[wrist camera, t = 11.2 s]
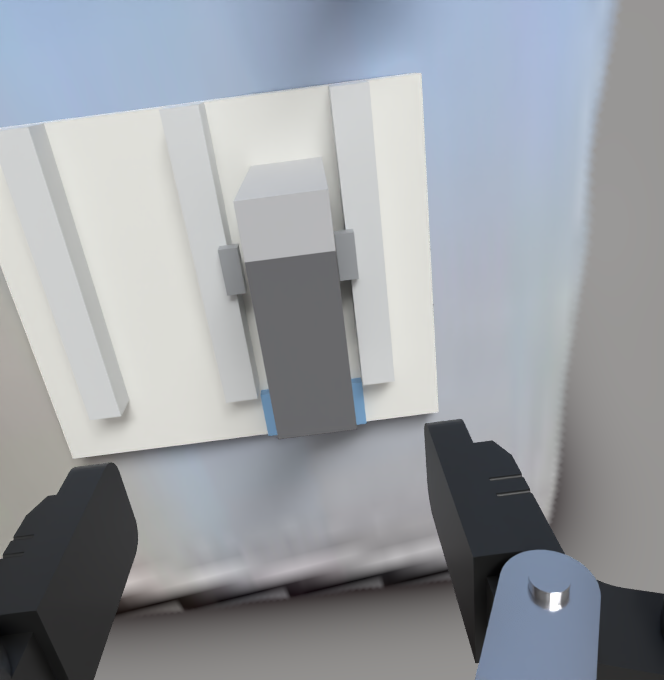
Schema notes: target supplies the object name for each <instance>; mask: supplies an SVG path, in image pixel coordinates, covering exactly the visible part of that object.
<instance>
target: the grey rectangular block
mask: <svg viewBox="0 0 664 680" xmlns="http://www.w3.org/2000/svg"><path fill="white" fill-rule="evenodd" d="M233 203H234V209H235V214H236V219H237V224H238V230H239V235H240V240H241V246H242V251H243V256H244V261H245V267H246V272H247V277H248V282H249V288H250V293H251V298H252V304H253V309H254V314H255V319H256V325H257V330H258V335H259V340H260V346H261V351H262V356H263V362H264V367H265V372H266V377H267V383H268V388H269V393H270V398H271V404H272V409H273V414H274V419H275V425H276V430H277V435H278V439H284V438H292V437H300V436H308V435H316V434H323V433H331V432H339V431H347V430H355V429H357V424H356V415H355V407H354V399H353V390H352V382H351V374H350V365H349V357H348V349H347V340H346V332H345V324H344V315H343V307H342V299H341V290H340V282H339V274H338V265H337V257H336V249H335V240H334V232H333V224H332V216H331V207H330V199H329V191H328V185H327V180H326V176H325V171H324V166H323V161H322V157H315V158H308V159H300V160H292V161H284V162H277V163H269V164H261V165H254V166H250V168H249V170H248V172H247V174H246V176H245V178H244V180H243V182H242V184H241V186H240V188H239V191H238V193H237V195H236V197H235V199H234V201H233Z"/></svg>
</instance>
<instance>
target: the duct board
mask: <svg viewBox="0 0 664 680" xmlns="http://www.w3.org/2000/svg"><path fill="white" fill-rule="evenodd" d="M315 157H322V161H323V166H324V171H325V176H326V180H327V185H328V191H329V199H330V207H331V216H332V224H333V232H334V240H335V249H336V257H337V265H338V274H339V282H340V290H341V299H342V307H343V315H344V324H345V332H346V340H347V349H348V357H349V365H350V374H351V382H352V390H353V399H354V407H355V415H356V424H357V425H359V424H367V422H366V421H373V420H381V419H389V418H397V417H405V416H413V415H420V414H428V413H436V412H438V393H437V373H436V354H435V334H434V314H433V294H432V275H431V255H430V235H429V215H428V196H427V176H426V156H425V136H424V116H423V97H422V77H421V73H408V74H401V75H393V76H385V77H378V78H370V79H363V80H355V81H348V82H340V83H333V84H325V85H318V86H310V87H302V88H295V89H287V90H280V91H272V92H265V93H257V94H250V95H242V96H235V97H227V98H219V99H212V100H204V101H197V102H189V103H182V104H174V105H167V106H159V107H152V108H144V109H136V110H129V111H121V112H114V113H106V114H99V115H91V116H84V117H76V118H69V119H61V120H53V121H46V122H38V123H31V124H23V125H16V126H8V127H1V128H0V266H1V268H2V271H3V274H4V276H5V279H6V282H7V284H8V287H9V290H10V292H11V295H12V298H13V300H14V303H15V306H16V308H17V311H18V314H19V316H20V319H21V322H22V324H23V327H24V330H25V332H26V335H27V338H28V340H29V343H30V346H31V348H32V351H33V354H34V356H35V359H36V362H37V364H38V367H39V369H40V372H41V375H42V377H43V380H44V383H45V385H46V388H47V391H48V393H49V396H50V399H51V401H52V404H53V407H54V409H55V412H56V415H57V417H58V420H59V423H60V425H61V428H62V431H63V433H64V436H65V439H66V441H67V444H68V447H69V449H70V452H71V455H72V457H73V459H75V458H83V457H90V456H98V455H106V454H114V453H122V452H130V451H138V450H145V449H153V448H161V447H169V446H177V445H185V444H193V443H200V442H208V441H216V440H224V439H232V438H240V437H248V436H255V435H263V434H268V436H273V435H277V430H276V425H275V419H274V414H273V409H272V404H271V398H270V393H269V388H268V383H267V377H266V372H265V367H264V362H263V356H262V351H261V346H260V340H259V335H258V330H257V325H256V319H255V314H254V309H253V304H252V298H251V293H250V288H249V282H248V277H247V272H246V267H245V261H244V256H243V251H242V246H241V240H240V235H239V230H238V224H237V219H236V214H235V209H234V203H233V201H234V199H235V197H236V195H237V193H238V191H239V188H240V186H241V184H242V182H243V180H244V178H245V176H246V174H247V172H248V170H249V168H250V166H254V165H261V164H269V163H277V162H284V161H292V160H300V159H308V158H315Z"/></svg>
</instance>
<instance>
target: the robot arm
mask: <svg viewBox="0 0 664 680" xmlns="http://www.w3.org/2000/svg"><path fill="white" fill-rule="evenodd" d="M424 435H425V451H426V467H427V483H428V493H429V500H430V505H431V510H432V515H433V518H434V522H435V525H436V529H437V532H438V536H439V539H440V543H441V546H442V549H443V553H444V556H445V560H446V563H447V567H448V570H449V574H450V577H451V580H452V584H453V587H454V591H455V594H456V597H457V601H458V604H459V608H460V611H461V615H462V618H463V621H464V625H465V629H466V632H467V635H468V639H469V642H470V645H471V649H472V653H473V656H474V659H475V663H479V665H478V669H477V674H476V678H475V680H664V594H661V593H655V592H647V591H641V590H634V589H627V588H621V587H616V586H612V585H609V584H606V583H603V582H601V581H598V580H596V579H595V577H594V576H593V574H592V573H591V572H590V571H589V570H588V569H587V568H586V567H585V566H584V565H583V564H581V563H580V562H579V561H577V560H575V559H573V558H571V557H570V556H567V555H565V553H564V552H563V550H562V548H561V546H560V544H559V542H558V541H557V539H556V537H555V535H554V533H553V531H552V529H551V527H550V526H549V524H548V522H547V520H546V518H545V516H544V514H543V513H542V511H541V509H540V507H539V505H538V503H537V501H536V499H535V498H534V496H533V494H532V493H531V492H530V488H529V486H528V485H527V483H526V481H525V479H524V477H523V478H522V473H521V472H520V470H519V468H518V466H517V464H516V462H515V460H514V458H513V457H512V455H511V454H510V453H508V452H507V451H506V450H504V449H503V448H502V447H500V446H499V445H498V444H496V443H495V442H494V441H485V442H477V443H473V441H472V439H471V437H470V435H469V432H468V430H467V428H466V426H465V424H464V422H463V420H462V419H456V420H448V421H441V422H433V423H425V426H424ZM137 544H138V530H137V524H136V520H135V517H134V514H133V511H132V508H131V505H130V502H129V499H128V496H127V493H126V490H125V487H124V484H123V481H122V478H121V475H120V472H119V470H118V468H117V466H116V465H115V464H114V463H104V464H96V465H88V466H80V467H74V468H73V469H71V471H70V472H69V474H68V476H67V477H66V479H65V481H64V483H63V484H62V486H61V488H60V490H59V492H58V493H57V495H52V496H47V497H46V498H45V499H44V500H43V501H42V502H41V503H40V504H39V505H37V506H36V507H35V508H34V509H33V510H32V511H31V512H30V513H29V514H28V515H26V517H25V519H24V520H23V522H22V524H21V525H20V527H19V529H18V530H17V532H16V533H15V535H14V540H13V541H11V542H10V543H9V545H8V547H7V548H6V550H5V552H4V553H3V559H0V680H94V677H95V674H96V671H97V668H98V665H99V662H100V659H101V656H102V653H103V650H104V647H105V644H106V641H107V638H108V635H109V632H110V629H111V626H112V623H113V620H114V617H115V614H116V611H117V608H118V605H119V602H120V599H121V596H122V594H123V591H124V588H125V585H126V582H127V579H128V576H129V573H130V570H131V567H132V564H133V561H134V558H135V555H136V551H137Z"/></svg>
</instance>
